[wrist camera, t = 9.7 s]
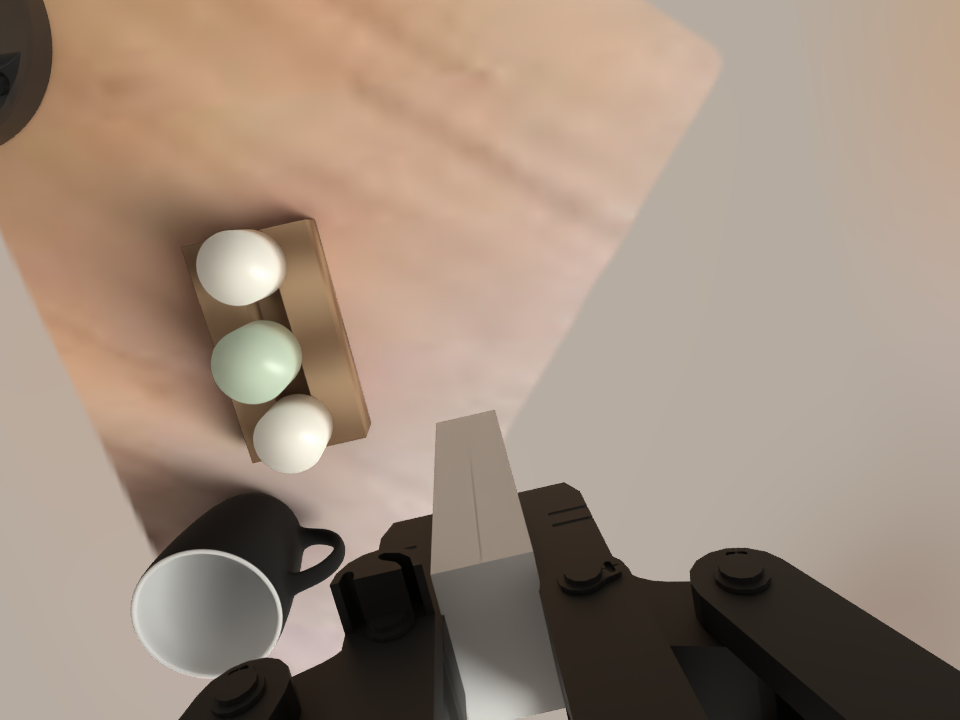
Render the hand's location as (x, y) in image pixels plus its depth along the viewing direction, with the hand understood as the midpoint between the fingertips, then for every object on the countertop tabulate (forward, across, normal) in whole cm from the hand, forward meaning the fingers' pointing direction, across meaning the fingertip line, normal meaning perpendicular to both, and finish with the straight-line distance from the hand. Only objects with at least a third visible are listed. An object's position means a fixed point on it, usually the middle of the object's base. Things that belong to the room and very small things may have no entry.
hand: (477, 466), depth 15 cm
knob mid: (+25, -12, +1) cm, 28 cm away
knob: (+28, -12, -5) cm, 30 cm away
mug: (+29, -17, -14) cm, 36 cm away
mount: (+28, -12, 0) cm, 31 cm away
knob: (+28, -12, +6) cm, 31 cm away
